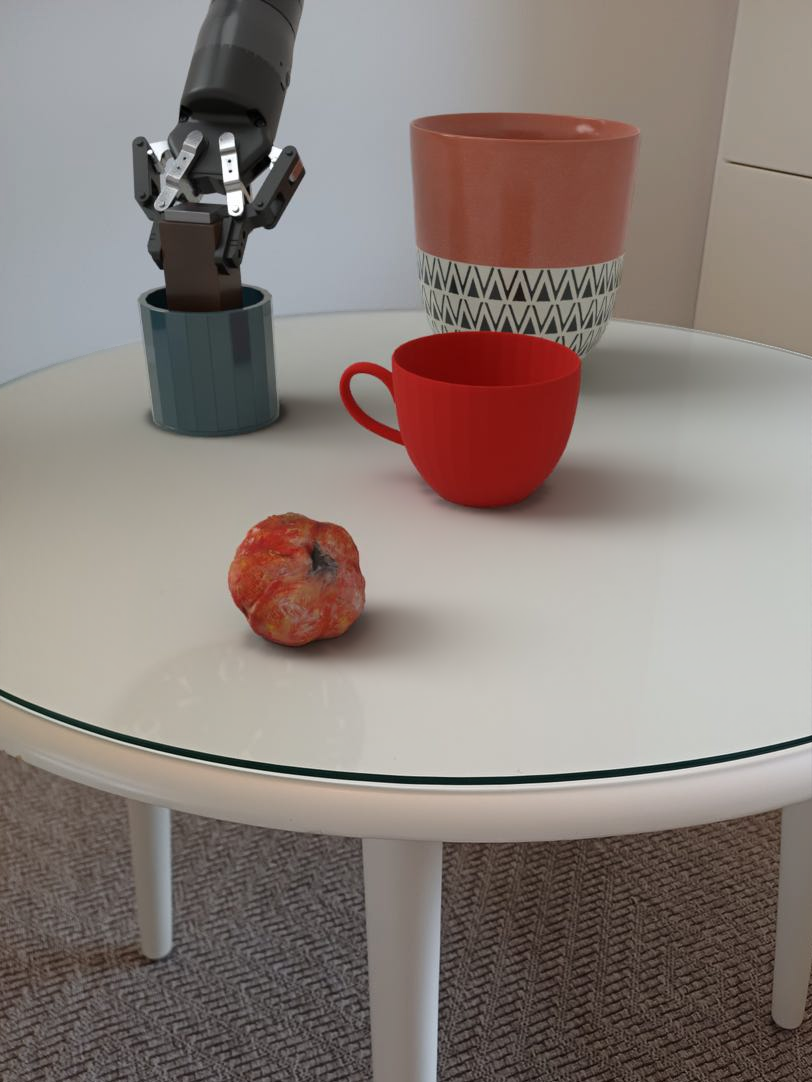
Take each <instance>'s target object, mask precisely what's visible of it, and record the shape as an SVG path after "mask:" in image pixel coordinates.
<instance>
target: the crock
mask: <svg viewBox="0 0 812 1082" xmlns="http://www.w3.org/2000/svg"><path fill="white" fill-rule="evenodd" d="M241 283H242V282H241ZM242 295H243V307H244V308H241V309H235V310H229V311H219V312H180V311H170V310H168V302H167V294H166V285H162V286H158V287H154V288H149V289H148V290H146V291H144V292H142V293H141V294H140V295H139V296H138V298H137V300H136V301H137V309H138V315H139V316H138V317H139V318H138V319H139V325H140V332H141V340H142V348H143V356H144V357H143V358H144V364H145V372H146V379H147V387H148V394H149V403H150V410H151V411H150V412H151V414H152V420H153V423H154V424H155V425H156V426H157V427H159V428H160V429H163V430H164V431H168V432H170V433H173V434H178V435H183V436H191V437H207V438H208V437H211V438H212V437H228V436H236V435H242V434H247V433H252V432H254V431H258V430H260V429H263V428H265V427H268V426H269V425H272V424H273V423H274V422H275V421H277V420H278V418H279V416H280V394H279V379H278V365H277V364H278V363H277V348H276V336H275V333H276V332H275V321H274V319H275V317H274V304H273V303H274V302H273V295H272V293H271V292H270V291H269V290H267V289H266V288H262V287H260V286H257V285H254V284H253V285H252V284H247V283H244V282H243V283H242Z"/></svg>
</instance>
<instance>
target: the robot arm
mask: <svg viewBox="0 0 812 1082" xmlns="http://www.w3.org/2000/svg"><path fill="white" fill-rule="evenodd" d="M304 5H305V0H210V2H209V5H208V9H207V13H206V15H205V17H204V19H203V21H202V24H201V26H200V29H199V32H198V34H197V38H196V41H195V46H194V48H193V53H192V57H191V61H190V65H189V68H188V72H187V76H186V80H185V83H184V86H183V91H182V94H181V97H180V102H179V109H178V110H179V111H178V121H177V124H176V126H175V127H174V129H172V131H171V132H170V133H169V134H168V136H167V139H165V140H159V141H154V142H149V141H148V140H147V138H146V137H145V136H141V135H139V136H136V137H135V138H134V139H133V140H132V143H131V150H132V171H133V172H132V173H133V174H132V175H133V194H134V195H133V196H134V200H135V202H136V203H137V205H138V206H139V207H140V208H141V210H142V212H143V213H144V215H145V216H146V218H147V219H148V220H149V221H150V222H152V225H151V229H150V233H149V237H148V240H147V245H146V247H147V252H148V254H149V256H150V257H151V259H152V261H153V263H154V264H155V265H156V266H157V268H158V269H159V270H160V271H164V268H163V259H162V251H161V242H160V234H159V225H158V222H160V221H162V220H164V219H165V213H164V210H166V209H168V208H171V207H173V206H176V205H178V204H181V203H183V202H195V203H201V200H202V199H203V198H204V196H205V195H213V194H219V195H222V196H225V197H226V203H227V204H226V205H228V212H229V218H223V224H222V228H221V232H220V236H219V240H218V244H217V248H216V251H215V255H214V263H215V265H216V267H217V268H218V269H219V271H220V273H221V274H222V275H229V276H231V275H232V274H233V270H234V269H238V268H239V266H240V267H241V265H242V263H243V259H244V254H245V250H246V247H247V243H248V238H249V235H251V234H252V233H253V232H254V230H255V229H261V228H263V229H265V230H267V231H270V230H274V229H275V228H276V227H277V225H278V223H279V221H280V220H281V219H282V216H283V215H284V213H285V211H286V209H287V207H288V206H289V204H290V202H291V200H292V198H293V197H294V195H295V193H296V192H297V190H298V188H299V186H300V184H301V183H302V181H303V180H304V177H305V175H306V174H307V173H306V172H307V171H306V168H305V166H304V163H303V160H302V158H301V155H300V154H299V152H298V149H297V147H295V146H294V145H292V144H291V145H286V146H284V147H283V148H279V147H277V146H275V145H274V143H275V140H276V137H277V133H278V128H279V125H280V120H281V117H282V112H283V107H284V103H285V99H286V96H287V91H288V89H289V88H290V85H291V74H292V71H293V61H294V48H295V44H296V40H297V35H298V30H299V28H300V27H299V26H300V23H301V18H302V15H303V10H304ZM172 158H173V161H174V162H173V164H172V165H171V167H170V169H169V170H168V172H167V173H166V170H165V169H166V167H167V162H168V161H169V160H170V159H172ZM268 169H269V172H268V174H267V176H266V177H265V179H264V180H263V183H262V185H261V186H260V188H259V190H258V191H257V194H256V195H255V196H254V199H253V188H252V183H253V182H255V180H257V178H259V177H260V176H261V175H262V174H263V173H264V172H265V171H266V170H268ZM165 173H166V175H165V185H164V186H163V188H162V187H161V186H162V184H161V175H164V174H165Z"/></svg>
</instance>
